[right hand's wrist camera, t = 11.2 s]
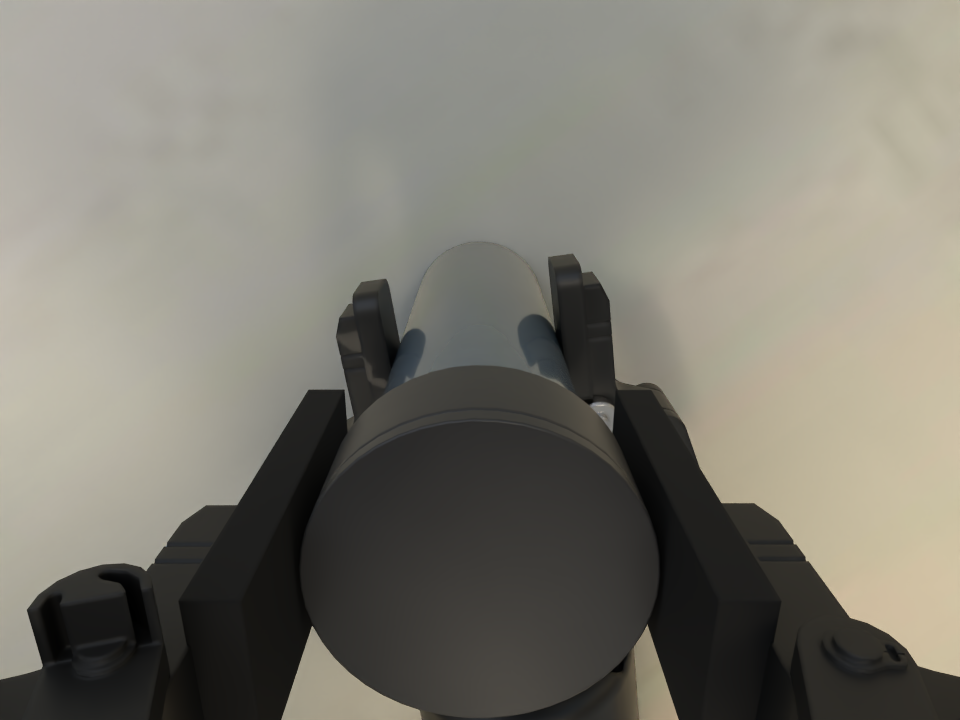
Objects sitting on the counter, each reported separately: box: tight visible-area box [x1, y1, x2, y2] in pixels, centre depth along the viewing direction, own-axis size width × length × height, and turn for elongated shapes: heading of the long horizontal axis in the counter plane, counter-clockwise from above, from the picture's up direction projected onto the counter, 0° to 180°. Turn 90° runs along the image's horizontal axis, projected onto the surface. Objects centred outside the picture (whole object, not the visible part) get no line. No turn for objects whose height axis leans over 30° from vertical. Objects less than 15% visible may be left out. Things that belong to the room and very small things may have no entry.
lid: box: [299, 365, 660, 718], centre depth 11 cm, size 6×6×2 cm
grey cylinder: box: [382, 242, 577, 396], centre depth 18 cm, size 5×5×16 cm
